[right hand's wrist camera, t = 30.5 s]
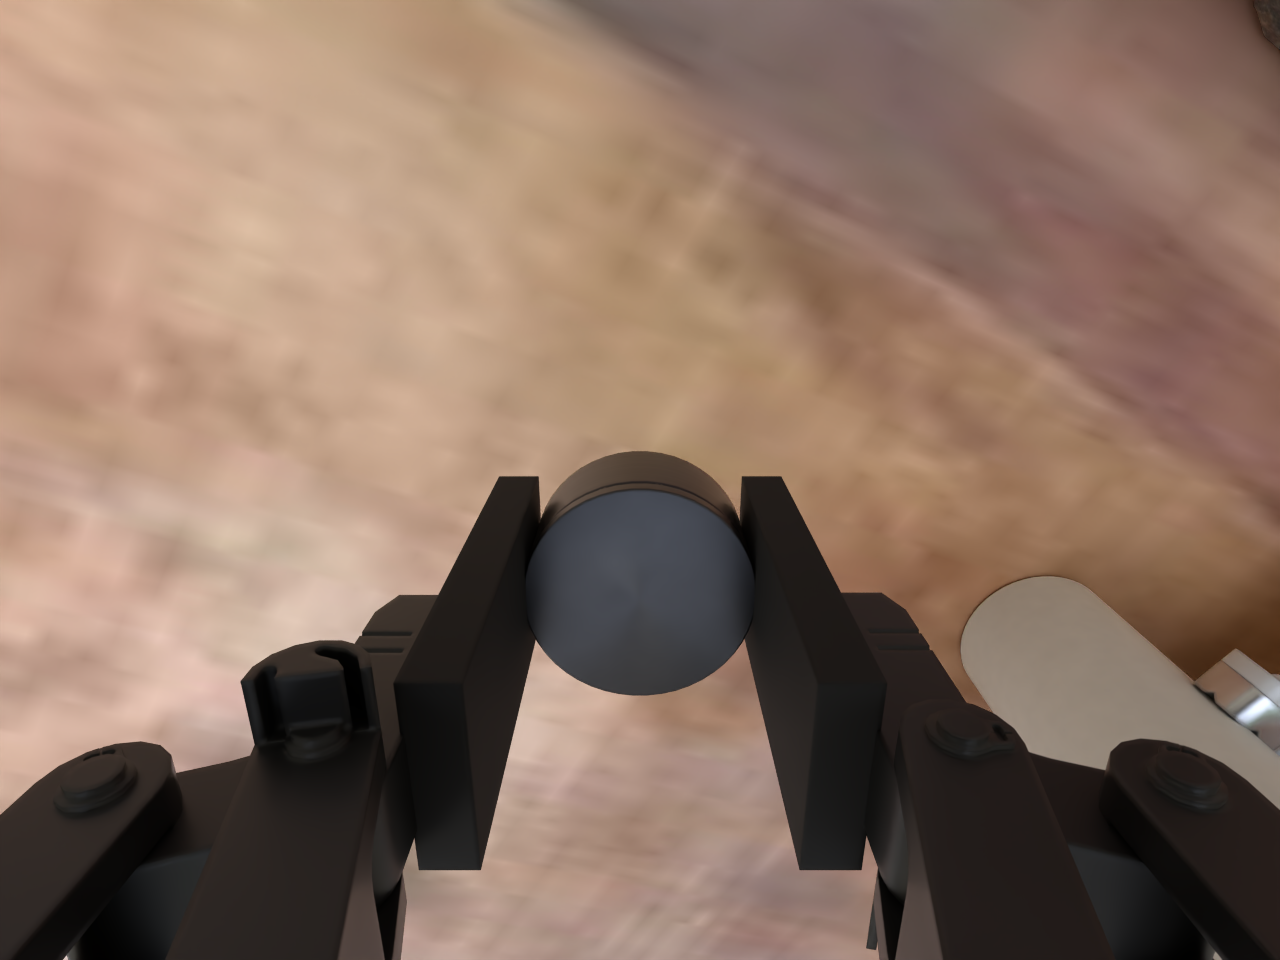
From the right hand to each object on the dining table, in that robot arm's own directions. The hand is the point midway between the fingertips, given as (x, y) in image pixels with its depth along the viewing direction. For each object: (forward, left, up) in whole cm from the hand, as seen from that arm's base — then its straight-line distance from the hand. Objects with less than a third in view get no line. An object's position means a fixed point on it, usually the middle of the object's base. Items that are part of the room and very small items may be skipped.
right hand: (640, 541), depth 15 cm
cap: (0, 0, +2) cm, 2 cm away
